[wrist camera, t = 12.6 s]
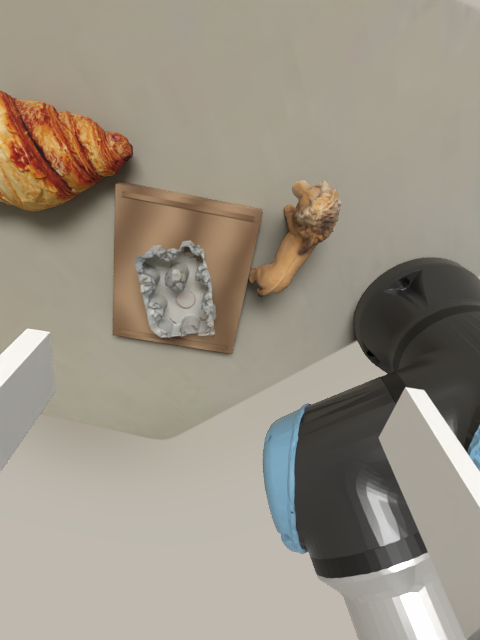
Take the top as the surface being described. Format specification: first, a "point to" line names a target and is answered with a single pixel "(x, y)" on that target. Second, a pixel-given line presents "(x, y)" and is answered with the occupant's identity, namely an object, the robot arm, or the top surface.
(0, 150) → the croissant
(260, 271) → the lion figurine
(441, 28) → the top surface
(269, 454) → the robot arm
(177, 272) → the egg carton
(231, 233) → the walnut board
